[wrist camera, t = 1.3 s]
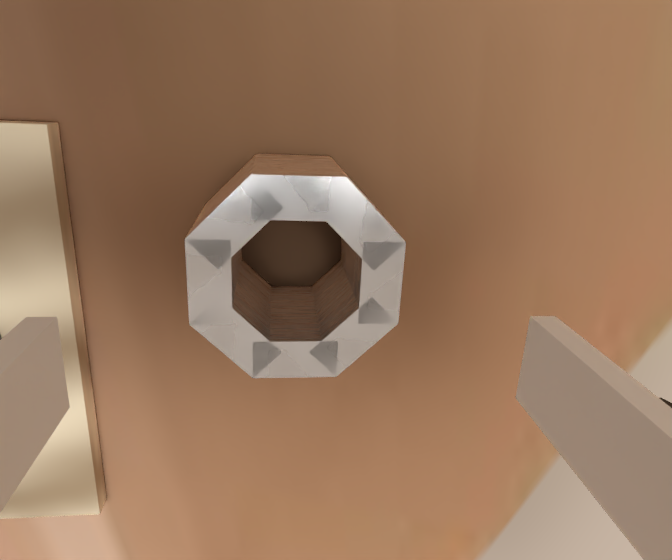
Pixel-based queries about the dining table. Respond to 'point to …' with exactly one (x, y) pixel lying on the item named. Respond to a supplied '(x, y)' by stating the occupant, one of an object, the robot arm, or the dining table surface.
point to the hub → (293, 302)
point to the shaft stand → (47, 301)
